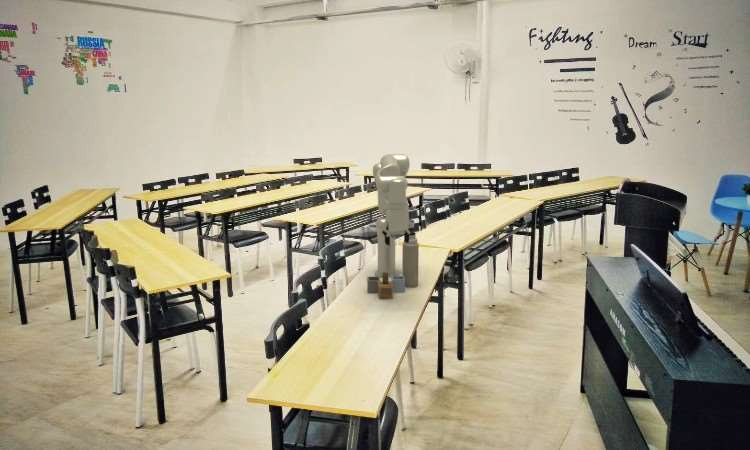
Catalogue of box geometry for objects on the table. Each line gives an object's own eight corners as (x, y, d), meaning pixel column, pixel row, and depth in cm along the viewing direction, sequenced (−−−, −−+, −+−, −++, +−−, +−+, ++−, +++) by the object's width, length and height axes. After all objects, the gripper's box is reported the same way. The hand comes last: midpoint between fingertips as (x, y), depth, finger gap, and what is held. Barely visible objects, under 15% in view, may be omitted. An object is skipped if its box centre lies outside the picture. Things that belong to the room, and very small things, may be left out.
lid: (377, 283, 258) (377, 271, 257) (391, 282, 259) (392, 270, 258) (378, 288, 252) (378, 275, 250) (393, 287, 252) (393, 275, 251)
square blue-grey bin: (391, 289, 268) (391, 276, 266) (403, 289, 268) (403, 275, 267) (392, 293, 262) (392, 279, 260) (404, 293, 262) (405, 279, 261)
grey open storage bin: (367, 290, 267) (367, 276, 265) (379, 289, 267) (379, 276, 266) (367, 294, 261) (367, 280, 259) (380, 294, 261) (380, 280, 260)
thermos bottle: (418, 284, 275) (419, 230, 269) (416, 289, 268) (417, 234, 261) (403, 283, 277) (403, 230, 271) (401, 288, 269) (401, 233, 263)
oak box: (378, 295, 260) (378, 283, 258) (391, 295, 260) (391, 283, 259) (379, 300, 253) (379, 288, 252) (392, 299, 254) (392, 287, 252)
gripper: (410, 203, 248) (409, 239, 252) (376, 206, 240) (376, 243, 244) (418, 206, 241) (417, 243, 245) (383, 209, 234) (383, 247, 238)
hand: (397, 243), depth 245 cm, fingers open, 9 cm apart
